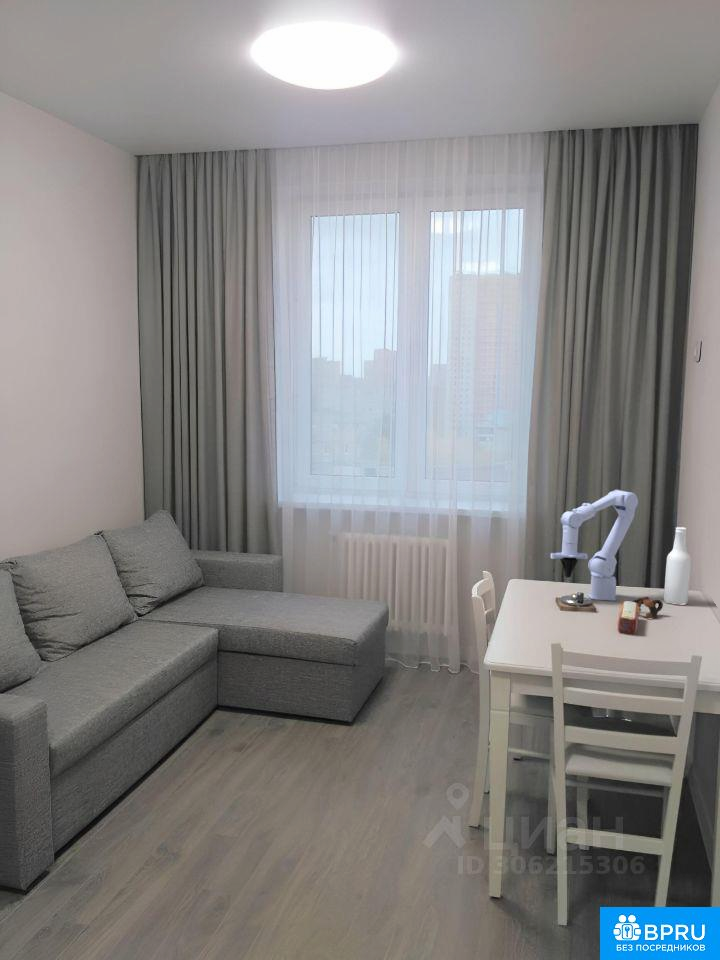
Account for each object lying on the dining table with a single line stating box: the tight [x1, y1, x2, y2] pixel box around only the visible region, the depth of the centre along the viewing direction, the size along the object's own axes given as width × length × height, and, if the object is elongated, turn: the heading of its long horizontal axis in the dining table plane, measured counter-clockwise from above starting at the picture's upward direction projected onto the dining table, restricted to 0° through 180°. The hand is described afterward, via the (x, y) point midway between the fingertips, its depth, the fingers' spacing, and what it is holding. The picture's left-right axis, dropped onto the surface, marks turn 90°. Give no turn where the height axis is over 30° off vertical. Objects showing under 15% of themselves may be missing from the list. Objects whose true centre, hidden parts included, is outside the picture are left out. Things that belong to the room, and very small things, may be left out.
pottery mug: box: [631, 596, 664, 619], centre depth 284 cm, size 12×10×8 cm
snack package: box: [617, 600, 641, 635], centre depth 269 cm, size 21×7×7 cm, turn 158°
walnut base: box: [555, 597, 597, 613], centre depth 293 cm, size 13×13×2 cm
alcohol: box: [663, 526, 692, 604], centre depth 302 cm, size 9×9×30 cm
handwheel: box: [560, 592, 592, 606], centre depth 293 cm, size 11×11×5 cm
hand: (567, 576), depth 301 cm, fingers closed
